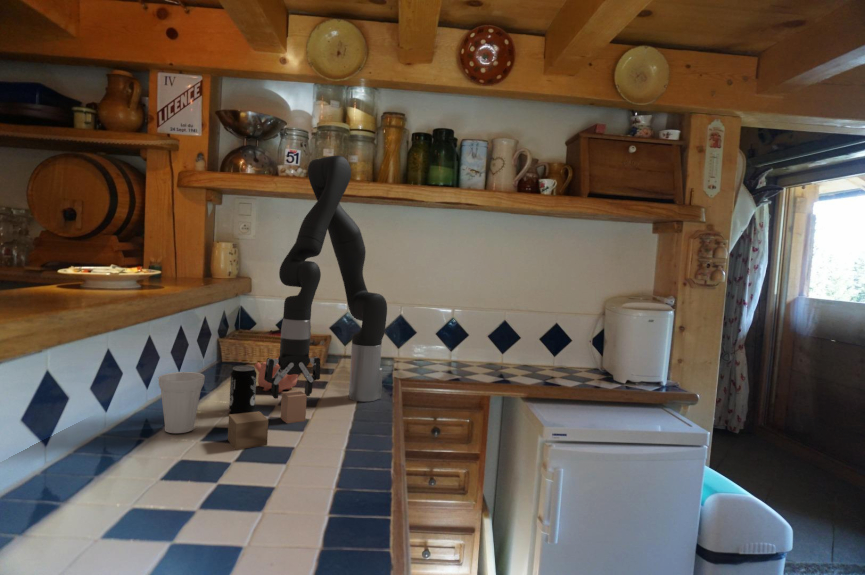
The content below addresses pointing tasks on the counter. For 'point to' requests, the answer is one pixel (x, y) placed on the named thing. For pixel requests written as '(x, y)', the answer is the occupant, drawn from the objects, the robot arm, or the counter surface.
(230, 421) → the base block
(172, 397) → the cup
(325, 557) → the counter surface
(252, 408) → the beverage can
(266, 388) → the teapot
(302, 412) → the tan cardboard cube
